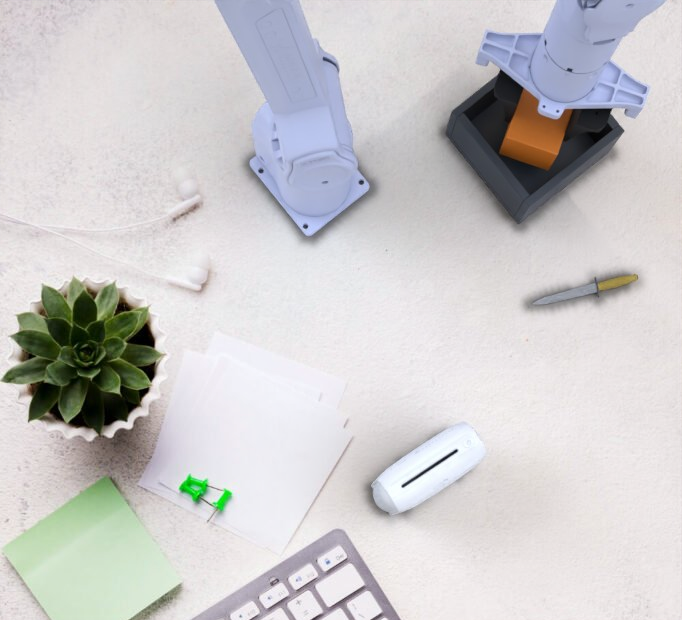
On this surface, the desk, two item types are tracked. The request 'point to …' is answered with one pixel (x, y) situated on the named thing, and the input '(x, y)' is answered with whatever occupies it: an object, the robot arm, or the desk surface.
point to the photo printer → (428, 469)
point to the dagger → (588, 289)
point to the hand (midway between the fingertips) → (538, 121)
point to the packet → (534, 134)
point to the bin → (513, 175)
